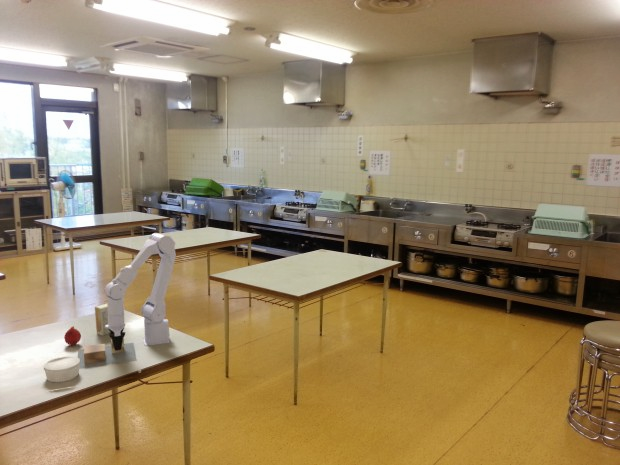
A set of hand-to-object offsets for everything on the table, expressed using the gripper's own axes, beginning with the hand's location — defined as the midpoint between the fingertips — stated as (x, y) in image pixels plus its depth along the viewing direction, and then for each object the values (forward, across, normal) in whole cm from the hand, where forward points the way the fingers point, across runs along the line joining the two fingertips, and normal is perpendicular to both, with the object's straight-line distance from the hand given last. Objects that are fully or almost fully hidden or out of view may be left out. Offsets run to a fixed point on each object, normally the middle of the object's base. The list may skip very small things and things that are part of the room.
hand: (117, 347), depth 187 cm
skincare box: (+2, -22, -4) cm, 22 cm away
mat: (+2, +3, -4) cm, 5 cm away
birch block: (+1, 0, 0) cm, 1 cm away
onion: (+2, -12, -16) cm, 20 cm away
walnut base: (+1, +5, -8) cm, 10 cm away
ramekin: (+2, +16, -18) cm, 24 cm away
